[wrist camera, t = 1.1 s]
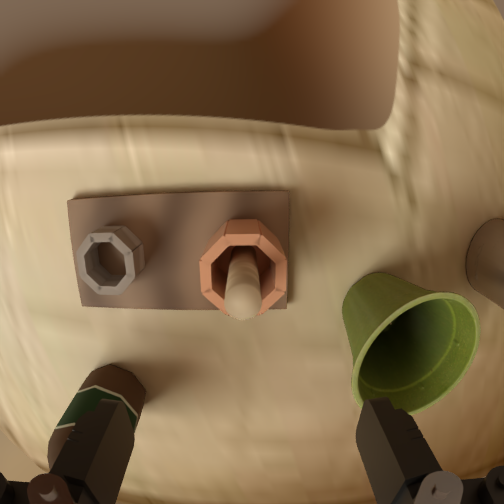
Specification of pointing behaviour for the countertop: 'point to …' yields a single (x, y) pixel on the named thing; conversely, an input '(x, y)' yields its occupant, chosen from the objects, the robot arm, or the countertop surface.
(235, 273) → the birch dowel
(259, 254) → the terracotta cup
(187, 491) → the countertop surface
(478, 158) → the countertop surface
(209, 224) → the peg socket board
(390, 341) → the plant pot
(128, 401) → the beer bottle
